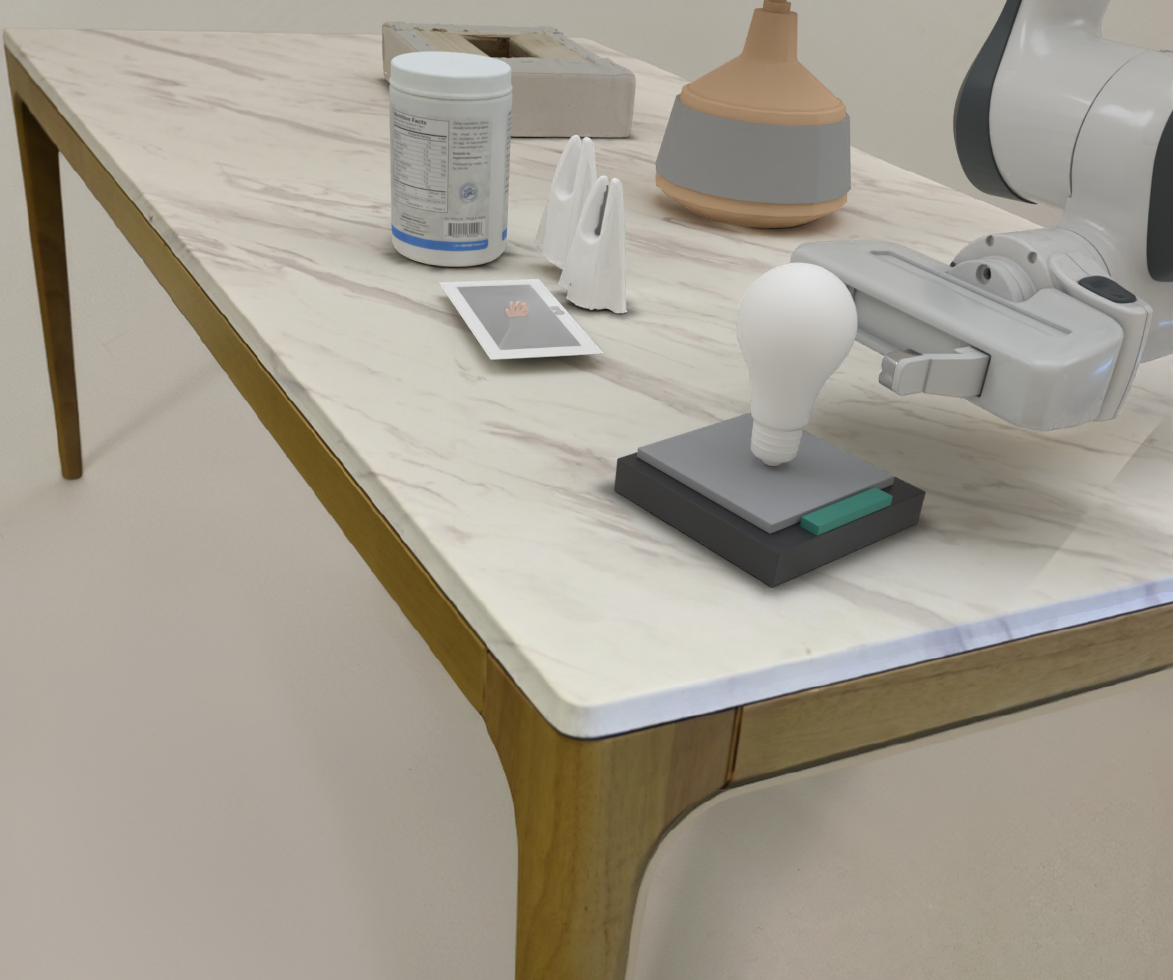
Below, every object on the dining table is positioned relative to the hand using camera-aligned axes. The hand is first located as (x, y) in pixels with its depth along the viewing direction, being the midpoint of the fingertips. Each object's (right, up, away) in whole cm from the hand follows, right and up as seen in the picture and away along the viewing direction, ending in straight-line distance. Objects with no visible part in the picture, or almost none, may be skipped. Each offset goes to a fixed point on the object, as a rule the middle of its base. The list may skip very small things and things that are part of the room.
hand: (828, 341), depth 64 cm
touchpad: (-18, +5, +24) cm, 30 cm away
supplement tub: (-24, +15, +38) cm, 47 cm away
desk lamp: (+3, +24, +56) cm, 61 cm away
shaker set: (-13, +11, +33) cm, 37 cm away
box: (-23, +46, +87) cm, 101 cm away
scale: (-3, -8, +4) cm, 10 cm away
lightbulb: (-3, -6, +3) cm, 7 cm away
